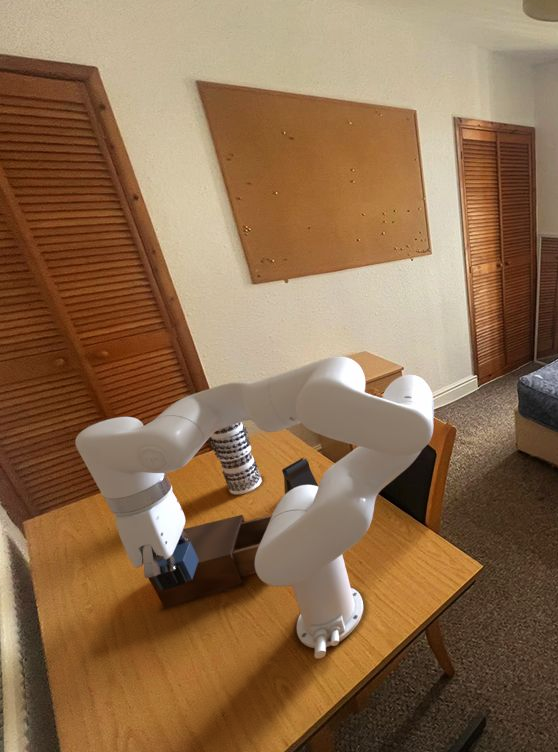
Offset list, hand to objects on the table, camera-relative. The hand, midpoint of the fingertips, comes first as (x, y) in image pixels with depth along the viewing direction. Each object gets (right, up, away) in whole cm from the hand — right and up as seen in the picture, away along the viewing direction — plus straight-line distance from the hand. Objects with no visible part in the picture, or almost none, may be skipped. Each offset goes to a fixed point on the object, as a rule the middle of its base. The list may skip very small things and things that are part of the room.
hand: (180, 572), depth 71 cm
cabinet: (-11, -11, +22) cm, 27 cm away
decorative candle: (-22, +1, +51) cm, 55 cm away
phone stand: (-1, -1, +45) cm, 45 cm away
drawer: (0, -9, +26) cm, 27 cm away
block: (0, 0, 0) cm, 0 cm away
